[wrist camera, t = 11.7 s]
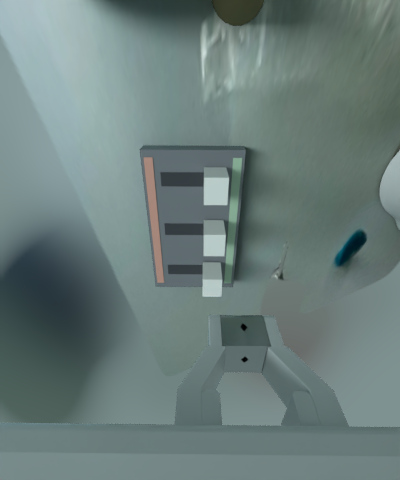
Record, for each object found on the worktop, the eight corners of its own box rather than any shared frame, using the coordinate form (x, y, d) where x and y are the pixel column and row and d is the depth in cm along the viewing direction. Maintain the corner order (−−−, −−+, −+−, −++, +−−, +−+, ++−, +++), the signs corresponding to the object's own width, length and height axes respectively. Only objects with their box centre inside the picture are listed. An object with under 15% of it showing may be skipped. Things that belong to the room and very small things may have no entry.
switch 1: (226, 167, 34) (229, 177, 30) (224, 192, 36) (227, 205, 32) (203, 167, 34) (204, 177, 30) (203, 192, 36) (203, 205, 32)
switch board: (243, 146, 35) (246, 150, 33) (231, 278, 48) (232, 287, 46) (143, 145, 35) (139, 149, 33) (157, 277, 48) (155, 286, 46)
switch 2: (220, 262, 43) (222, 279, 39) (219, 278, 44) (221, 296, 41) (202, 262, 43) (202, 279, 39) (202, 278, 44) (202, 296, 41)
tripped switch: (223, 220, 38) (225, 234, 35) (222, 240, 40) (224, 256, 36) (203, 220, 38) (203, 234, 35) (203, 240, 40) (203, 256, 36)
